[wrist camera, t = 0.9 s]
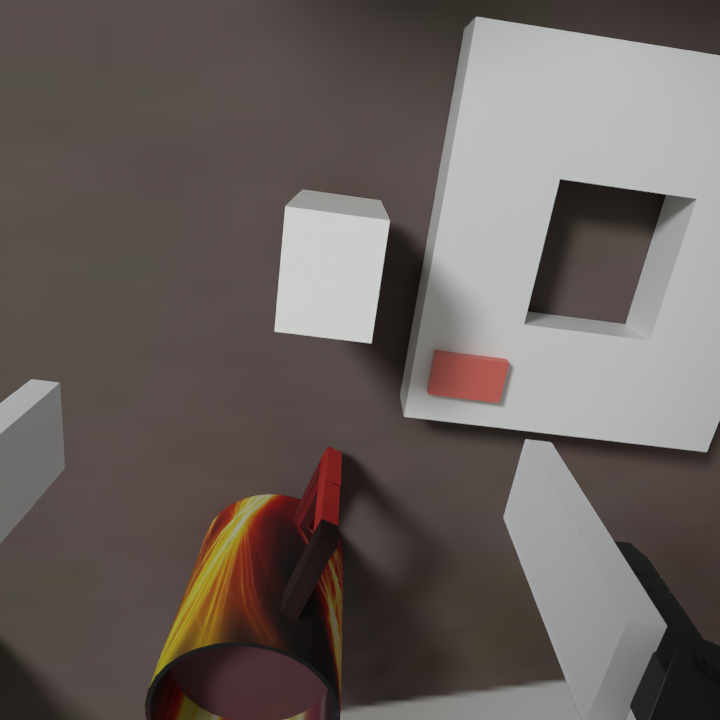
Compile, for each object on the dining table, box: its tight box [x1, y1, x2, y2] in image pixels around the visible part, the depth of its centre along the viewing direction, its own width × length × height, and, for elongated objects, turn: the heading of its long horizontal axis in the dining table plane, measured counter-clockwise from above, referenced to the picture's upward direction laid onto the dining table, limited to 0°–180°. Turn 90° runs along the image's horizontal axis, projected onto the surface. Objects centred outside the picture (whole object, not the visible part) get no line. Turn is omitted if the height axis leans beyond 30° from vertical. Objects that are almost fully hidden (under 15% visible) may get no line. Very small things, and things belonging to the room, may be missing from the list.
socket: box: [400, 17, 720, 452], centre depth 31 cm, size 20×18×4 cm
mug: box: [145, 447, 344, 720], centre depth 33 cm, size 10×14×12 cm
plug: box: [274, 190, 390, 344], centre depth 27 cm, size 5×4×10 cm
